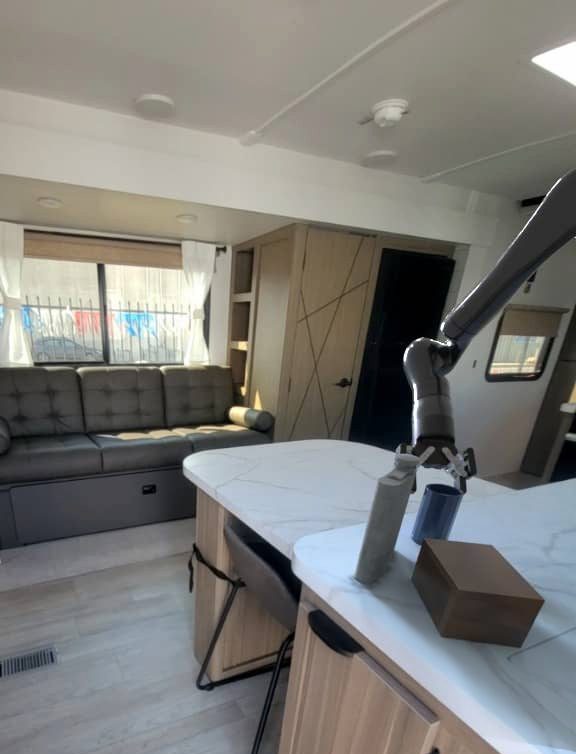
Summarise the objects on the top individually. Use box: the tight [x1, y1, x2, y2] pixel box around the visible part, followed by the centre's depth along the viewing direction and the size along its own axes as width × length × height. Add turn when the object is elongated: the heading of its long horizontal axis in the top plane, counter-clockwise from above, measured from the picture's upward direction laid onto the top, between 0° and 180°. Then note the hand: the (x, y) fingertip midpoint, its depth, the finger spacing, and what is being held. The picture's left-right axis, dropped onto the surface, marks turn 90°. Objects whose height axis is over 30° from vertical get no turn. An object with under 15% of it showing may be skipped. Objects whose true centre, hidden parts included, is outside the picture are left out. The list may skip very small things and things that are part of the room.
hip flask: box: [353, 453, 420, 585], centre depth 68 cm, size 16×4×20 cm, turn 143°
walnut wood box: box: [410, 538, 546, 649], centre depth 60 cm, size 10×14×8 cm
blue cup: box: [410, 482, 465, 546], centre depth 78 cm, size 6×6×11 cm
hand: (436, 494), depth 79 cm, fingers open, 8 cm apart
